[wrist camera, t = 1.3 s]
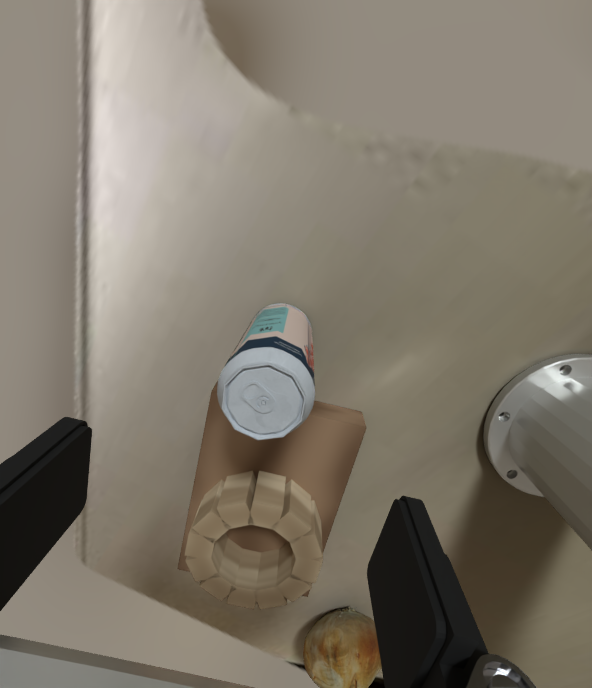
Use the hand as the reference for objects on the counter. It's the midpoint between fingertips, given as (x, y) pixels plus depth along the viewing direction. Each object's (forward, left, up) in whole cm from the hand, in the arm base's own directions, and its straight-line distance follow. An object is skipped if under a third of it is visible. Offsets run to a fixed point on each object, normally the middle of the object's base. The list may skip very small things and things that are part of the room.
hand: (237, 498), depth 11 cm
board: (-2, +14, -18) cm, 23 cm away
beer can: (0, 0, -18) cm, 18 cm away
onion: (-13, +28, -18) cm, 36 cm away
